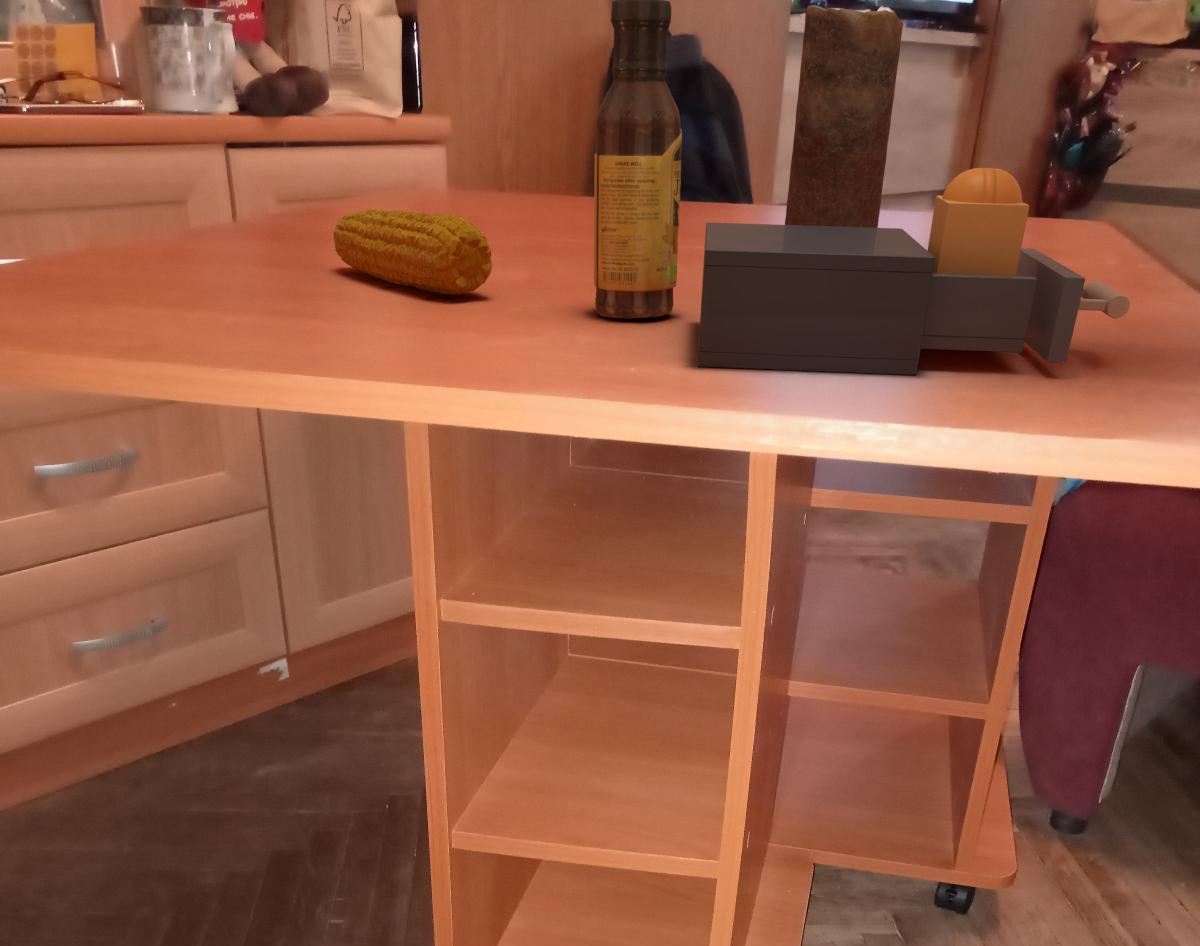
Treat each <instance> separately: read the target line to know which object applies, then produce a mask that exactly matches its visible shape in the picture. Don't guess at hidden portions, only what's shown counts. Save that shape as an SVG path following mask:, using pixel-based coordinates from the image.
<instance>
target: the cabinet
mask: <svg viewBox="0 0 1200 946" xmlns="http://www.w3.org/2000/svg"><path fill="white" fill-rule="evenodd" d="M934 263H935V257H934V256H933V255H932V254H931V253H930V252H928V249H926V248H925V247H924V246H923V245H921V244H920V243H919V242H918V241H917V240H916V239H915V238H914V237H912V236H911V235H910V234H909V233H908V232H906V231H905V230H904V229H903V228H896V227H895V228H894V227H878V228H868V227H836V226H804V225H785V224H773V223H772V224H771V223H770V224H769V223H768V224H767V223H738V222H737V223H736V222H734V223H733V222H706V223H705V235H704V253H703V267H702V268H703V269H702V283H701V284H702V285H701V299H700V317H699V332H698V333H699V334H698V335H699V336H698V352H697V355H698V356H697V357H698V358H697V367H701V368H704V367H705V368H722V369H723V368H727V369H748V370H749V369H750V370H751V369H755V370H777V371H779V370H780V371H800V372H801V371H802V372H804V371H805V372H827V373H830V372H831V373H854V374H855V373H856V374H878V375H879V374H882V375H903V376H904V375H905V376H908V375H909V376H917V374H918V368H919V363H920V361H919V360H920V356H921V350H922V349H921V344H922V338H923V332H924V326H925V320H926V313H927V307H928V301H929V295H930V289H931V283H932V276H933V270H934Z"/></svg>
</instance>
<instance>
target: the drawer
mask: <svg viewBox="0 0 1200 946" xmlns="http://www.w3.org/2000/svg"><path fill="white" fill-rule="evenodd" d="M1085 282H1086V277H1085V276H1082V275H1080V274H1079V273H1077V272H1075V271H1074V270H1072V269H1070V268H1068V267H1067V266H1065V265H1063V264H1061V263H1060V262H1058V261H1057V260H1055V259H1053V258H1051V257H1050V256H1047V255H1046V254H1045V253H1042V252H1041V251H1039V250H1038V249H1035V248H1022V247H1021V252H1020V257H1019V262H1018V267H1017V272H1016V276H989V275H959V274H933V276H932V283H931V289H930V295H929V301H928V307H927V313H926V320H925V326H924V332H923V338H922V344H921V350H940V351H941V350H944V351H945V350H946V351H967V352H968V351H970V352H971V351H973V352H999V353H1023V351H1024V347H1025V344H1026V345H1027V346H1029V347H1030V348H1031V349H1032V350H1033V351H1034V352H1036V354H1038V356H1040V357H1041V358H1042V359H1043V360H1045V361H1046V362H1047V363H1063V364H1065V363H1067V362H1068V356H1069V353H1070V349H1071V343H1072V340H1073V335H1074V331H1075V326H1076V321H1077V317H1078V312H1079V311H1091V312H1092V311H1094V312H1095V311H1097V312H1102V313H1103V314H1105V315H1106V316H1108V317H1109V318H1111V319H1116V320H1117V319H1120V318H1122V317H1124V316H1126V314H1127V313H1128V311H1129V310H1130V307H1131V303H1130V299H1129V298H1128V297H1127V296H1126V295H1124V294H1123V293H1121V292H1120V291H1117V290H1115V289H1113V288H1112V287H1109V286H1108V285H1106V284H1105V283H1103V282H1101V281H1099V280H1091V281H1089V282H1087V283H1086V284H1085Z"/></svg>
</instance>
